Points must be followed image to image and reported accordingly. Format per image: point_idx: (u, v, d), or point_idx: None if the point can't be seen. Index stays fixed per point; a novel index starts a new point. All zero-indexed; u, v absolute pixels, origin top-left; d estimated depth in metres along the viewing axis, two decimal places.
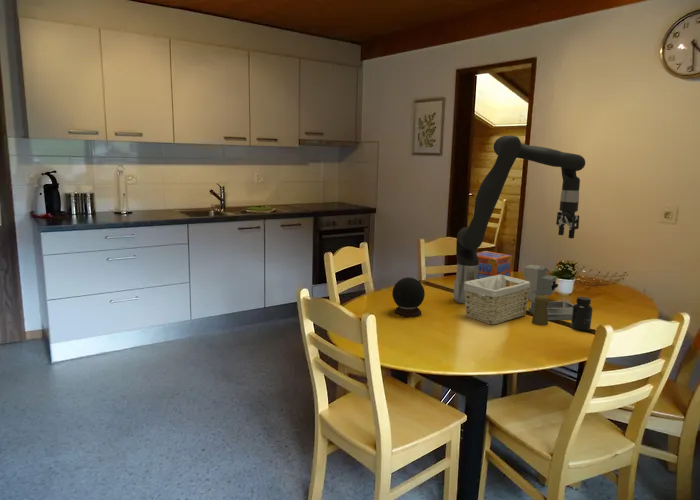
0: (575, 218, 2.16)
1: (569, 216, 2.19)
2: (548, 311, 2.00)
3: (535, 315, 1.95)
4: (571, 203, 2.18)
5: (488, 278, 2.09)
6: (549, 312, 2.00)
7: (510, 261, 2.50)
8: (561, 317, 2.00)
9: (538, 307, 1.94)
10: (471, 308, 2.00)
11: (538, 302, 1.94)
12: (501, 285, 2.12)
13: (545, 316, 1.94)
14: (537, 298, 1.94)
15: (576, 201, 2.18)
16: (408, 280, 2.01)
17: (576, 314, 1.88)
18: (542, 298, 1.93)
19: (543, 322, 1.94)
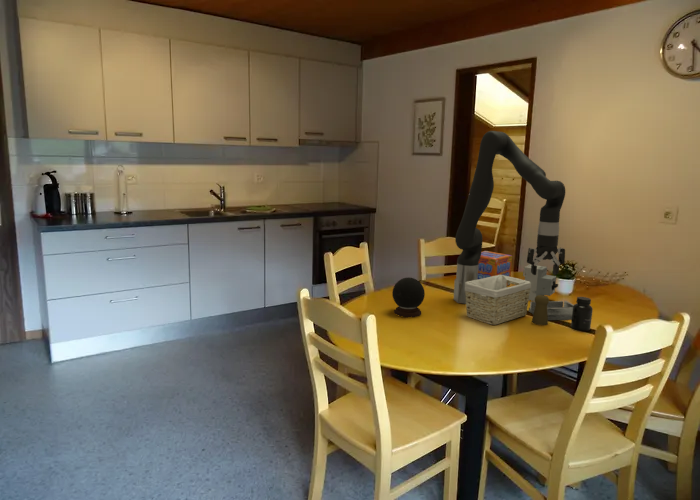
0: None
1: (555, 251, 1.91)
2: (548, 311, 2.00)
3: (535, 315, 1.95)
4: None
5: (489, 278, 2.09)
6: (549, 312, 2.00)
7: (510, 261, 2.50)
8: (561, 317, 2.00)
9: (538, 307, 1.94)
10: (472, 308, 2.00)
11: (538, 302, 1.94)
12: (502, 285, 2.11)
13: (545, 316, 1.94)
14: (537, 298, 1.94)
15: None
16: (408, 280, 2.01)
17: (576, 314, 1.88)
18: (542, 298, 1.93)
19: (543, 322, 1.94)
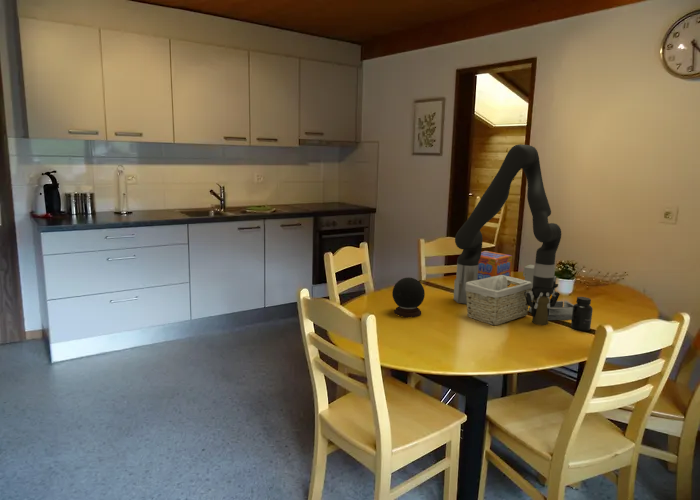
0: None
1: (551, 292, 1.94)
2: None
3: (535, 315, 1.95)
4: None
5: (489, 278, 2.08)
6: (549, 312, 2.00)
7: (510, 261, 2.50)
8: (561, 317, 2.00)
9: (538, 307, 1.94)
10: (473, 309, 2.00)
11: (538, 302, 1.94)
12: (502, 285, 2.11)
13: (545, 316, 1.94)
14: None
15: None
16: (408, 280, 2.01)
17: (576, 314, 1.88)
18: (542, 298, 1.93)
19: (543, 322, 1.94)
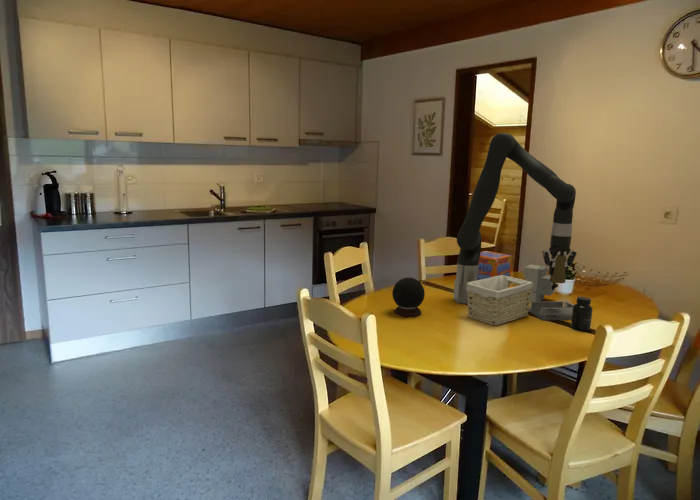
0: None
1: (568, 251, 2.00)
2: (548, 311, 2.00)
3: (553, 274, 2.02)
4: None
5: (490, 279, 2.08)
6: (549, 312, 2.00)
7: (510, 261, 2.50)
8: (561, 317, 2.00)
9: (556, 266, 2.00)
10: (474, 309, 1.99)
11: (556, 261, 2.00)
12: (503, 286, 2.11)
13: (563, 274, 2.00)
14: None
15: None
16: (408, 280, 2.01)
17: (576, 314, 1.88)
18: (560, 257, 1.99)
19: (561, 281, 2.00)
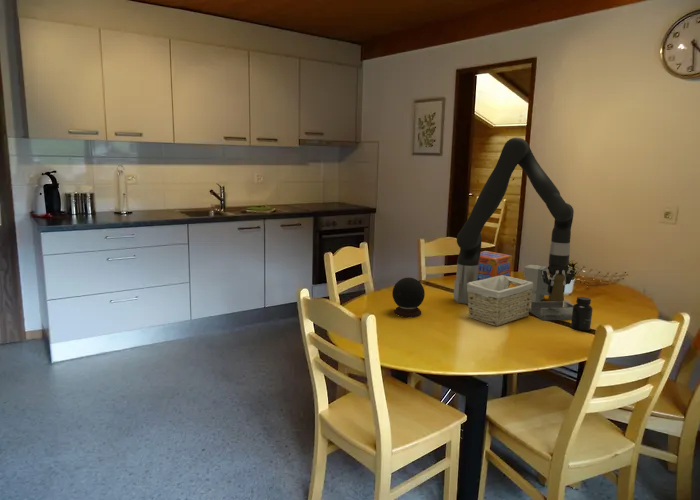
0: None
1: (566, 269, 2.02)
2: (548, 311, 2.00)
3: (552, 292, 2.03)
4: None
5: (491, 279, 2.08)
6: (549, 312, 2.00)
7: (510, 261, 2.50)
8: (561, 317, 2.00)
9: (555, 285, 2.02)
10: (474, 309, 1.99)
11: (554, 279, 2.01)
12: (503, 286, 2.10)
13: (561, 293, 2.02)
14: None
15: None
16: (408, 280, 2.01)
17: (576, 314, 1.88)
18: (558, 275, 2.01)
19: (559, 299, 2.02)
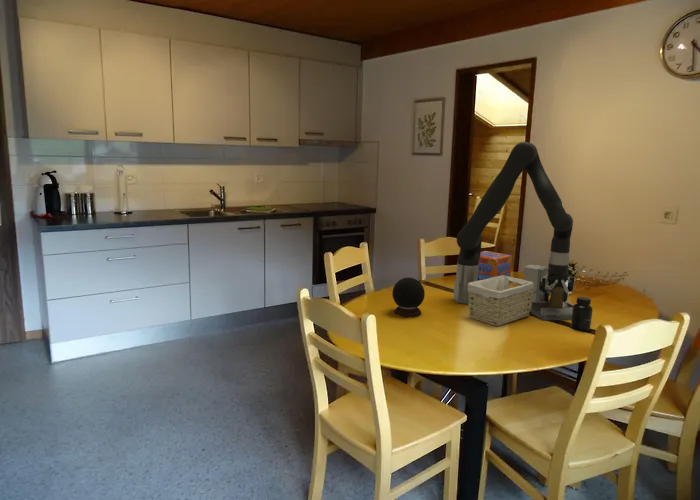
0: None
1: (565, 279, 2.03)
2: (548, 311, 2.00)
3: (551, 305, 2.04)
4: None
5: (491, 279, 2.07)
6: (549, 312, 2.00)
7: (510, 261, 2.50)
8: (561, 317, 2.00)
9: (554, 297, 2.03)
10: (475, 309, 1.99)
11: (554, 292, 2.02)
12: (504, 286, 2.10)
13: (560, 305, 2.03)
14: (553, 288, 2.03)
15: None
16: (408, 280, 2.01)
17: (576, 314, 1.88)
18: (557, 288, 2.02)
19: None
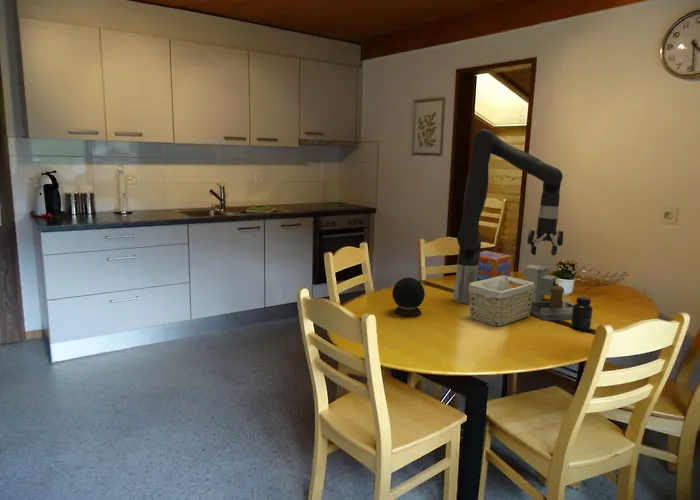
0: None
1: (554, 233, 2.07)
2: (548, 311, 2.00)
3: (551, 305, 2.04)
4: None
5: (492, 279, 2.07)
6: (549, 312, 2.00)
7: (510, 261, 2.50)
8: (561, 317, 2.00)
9: (554, 297, 2.03)
10: (476, 310, 1.98)
11: (554, 292, 2.02)
12: (504, 286, 2.10)
13: (560, 305, 2.03)
14: (553, 288, 2.03)
15: None
16: (408, 280, 2.01)
17: (576, 314, 1.88)
18: (557, 288, 2.02)
19: None
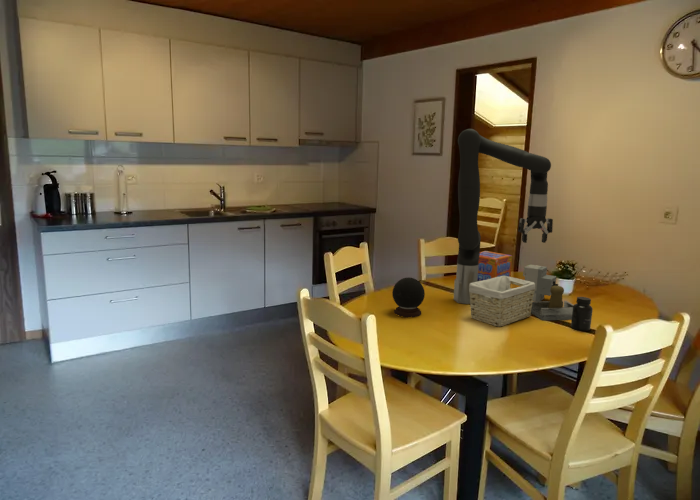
0: None
1: (544, 220, 2.12)
2: (548, 311, 2.00)
3: (551, 305, 2.04)
4: None
5: (492, 279, 2.07)
6: (549, 312, 2.00)
7: (510, 261, 2.50)
8: (561, 317, 2.00)
9: (554, 297, 2.03)
10: (476, 310, 1.98)
11: (554, 292, 2.02)
12: (505, 286, 2.10)
13: (560, 305, 2.03)
14: (553, 288, 2.03)
15: None
16: (408, 280, 2.01)
17: (576, 314, 1.88)
18: (557, 288, 2.02)
19: None
